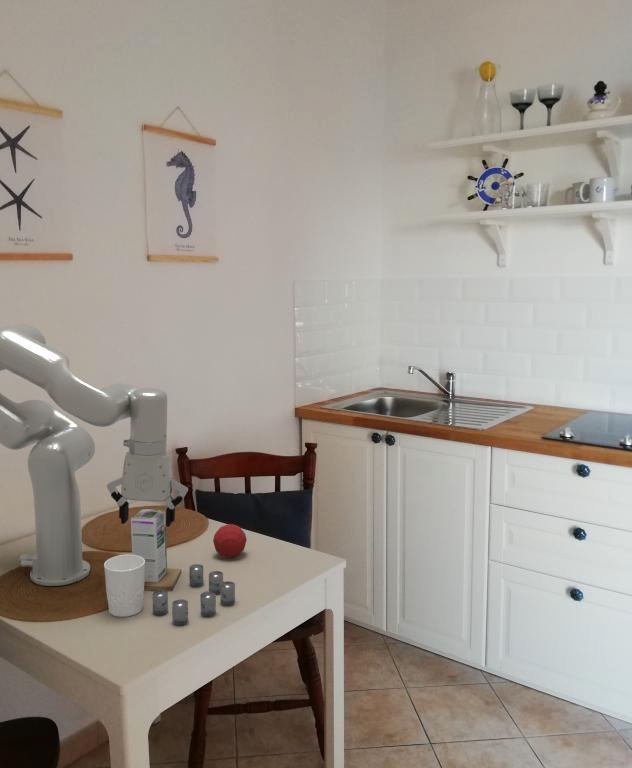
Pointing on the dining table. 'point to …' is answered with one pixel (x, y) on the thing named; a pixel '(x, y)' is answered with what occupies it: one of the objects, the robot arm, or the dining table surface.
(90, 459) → the robot arm
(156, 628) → the dining table surface
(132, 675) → the dining table surface
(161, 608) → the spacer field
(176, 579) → the tan board
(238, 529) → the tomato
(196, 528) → the dining table surface
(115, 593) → the white cup
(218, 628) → the dining table surface
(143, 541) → the syrup box
